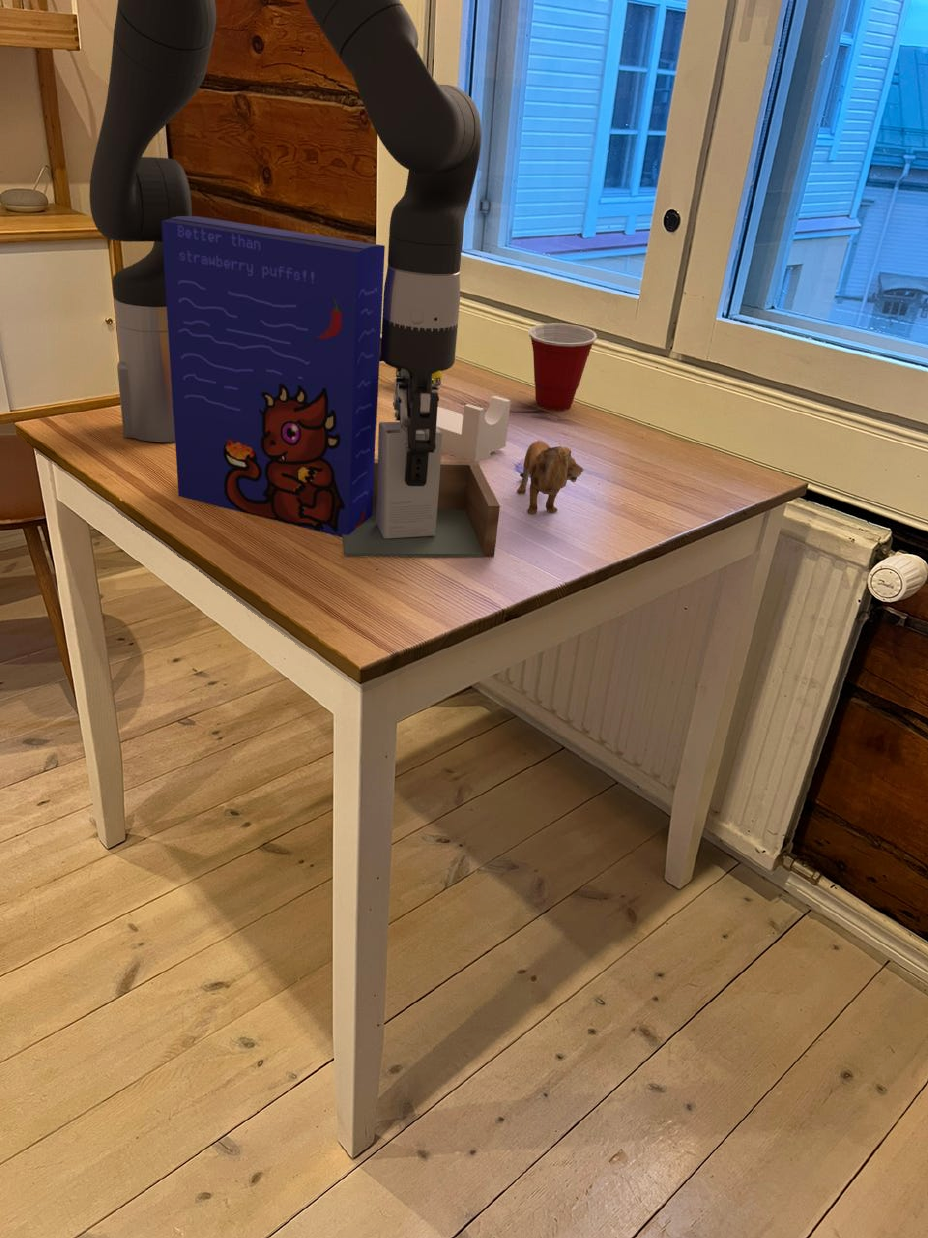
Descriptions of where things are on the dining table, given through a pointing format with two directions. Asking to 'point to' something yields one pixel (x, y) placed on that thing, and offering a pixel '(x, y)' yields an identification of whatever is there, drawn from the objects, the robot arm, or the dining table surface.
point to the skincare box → (405, 486)
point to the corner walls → (466, 499)
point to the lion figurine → (547, 473)
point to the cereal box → (274, 370)
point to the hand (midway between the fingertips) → (409, 469)
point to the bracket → (474, 430)
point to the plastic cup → (559, 362)
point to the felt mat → (416, 539)
